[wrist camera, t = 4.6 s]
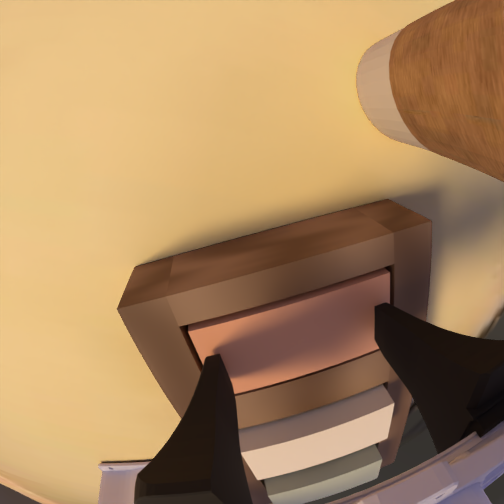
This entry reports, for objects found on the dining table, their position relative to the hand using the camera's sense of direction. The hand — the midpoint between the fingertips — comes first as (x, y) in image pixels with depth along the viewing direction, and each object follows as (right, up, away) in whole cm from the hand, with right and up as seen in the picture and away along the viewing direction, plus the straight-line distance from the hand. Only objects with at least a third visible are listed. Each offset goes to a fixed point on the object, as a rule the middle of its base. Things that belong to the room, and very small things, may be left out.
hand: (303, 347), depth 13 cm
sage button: (+3, -13, +9) cm, 16 cm away
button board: (+1, -5, +7) cm, 9 cm away
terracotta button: (-1, +2, +4) cm, 4 cm away
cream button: (+1, -6, +6) cm, 9 cm away
